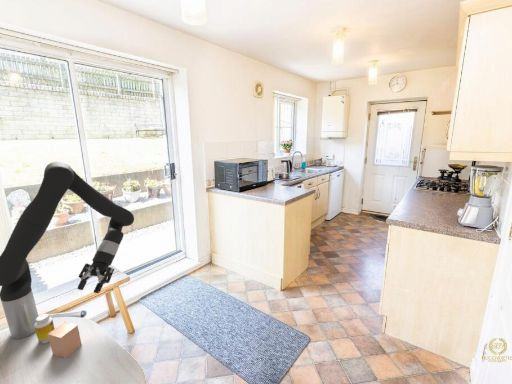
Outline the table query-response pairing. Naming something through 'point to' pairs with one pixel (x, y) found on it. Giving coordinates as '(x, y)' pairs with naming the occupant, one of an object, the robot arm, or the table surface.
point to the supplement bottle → (43, 327)
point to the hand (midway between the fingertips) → (87, 291)
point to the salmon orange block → (64, 339)
